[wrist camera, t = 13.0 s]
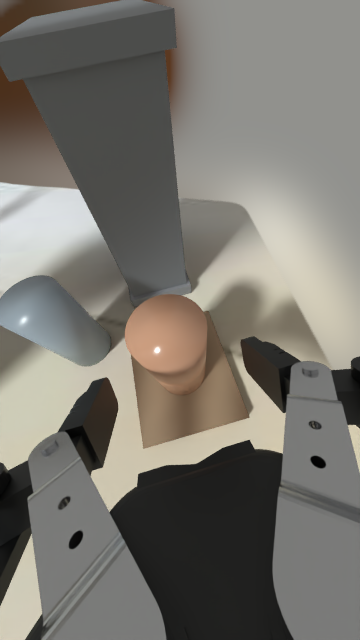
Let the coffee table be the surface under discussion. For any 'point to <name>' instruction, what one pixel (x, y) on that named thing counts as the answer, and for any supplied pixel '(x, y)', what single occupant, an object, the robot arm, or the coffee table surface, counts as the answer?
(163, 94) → the post
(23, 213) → the coffee table surface
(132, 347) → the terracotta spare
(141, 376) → the pad
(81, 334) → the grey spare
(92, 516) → the robot arm
